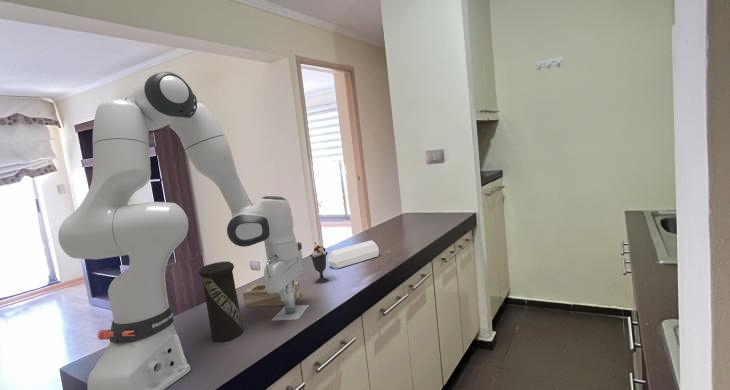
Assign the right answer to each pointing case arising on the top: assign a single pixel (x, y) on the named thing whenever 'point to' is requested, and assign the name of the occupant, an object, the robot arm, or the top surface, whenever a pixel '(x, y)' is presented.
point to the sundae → (319, 262)
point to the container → (221, 301)
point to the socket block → (265, 296)
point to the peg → (290, 300)
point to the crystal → (353, 254)
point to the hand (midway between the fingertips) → (288, 296)
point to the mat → (294, 316)
